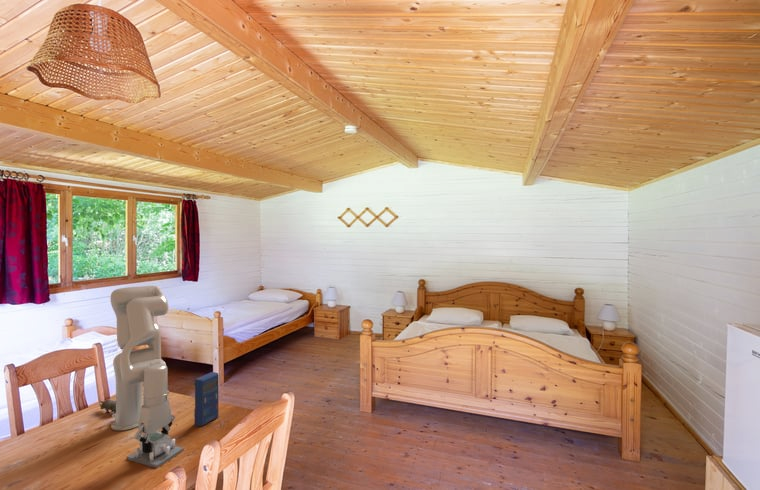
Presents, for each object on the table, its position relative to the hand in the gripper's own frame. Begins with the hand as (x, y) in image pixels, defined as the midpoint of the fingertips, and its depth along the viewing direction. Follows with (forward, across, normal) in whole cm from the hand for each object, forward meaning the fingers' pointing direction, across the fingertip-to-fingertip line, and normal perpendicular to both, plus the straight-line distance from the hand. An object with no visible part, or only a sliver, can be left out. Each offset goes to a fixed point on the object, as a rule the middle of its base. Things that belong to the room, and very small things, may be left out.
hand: (155, 446), depth 131 cm
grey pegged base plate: (+3, 0, 0) cm, 3 cm away
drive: (+1, 0, 0) cm, 1 cm away
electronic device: (+3, -26, -2) cm, 26 cm away
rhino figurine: (+4, -17, -51) cm, 54 cm away
